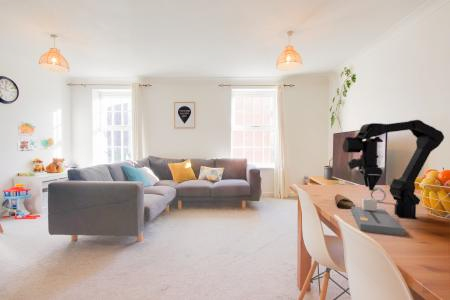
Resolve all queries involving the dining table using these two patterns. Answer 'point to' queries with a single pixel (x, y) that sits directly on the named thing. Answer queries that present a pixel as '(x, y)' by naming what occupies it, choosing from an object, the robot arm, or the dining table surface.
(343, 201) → the sunglasses case
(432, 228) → the dining table surface
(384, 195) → the ring
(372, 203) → the fader knob
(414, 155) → the robot arm
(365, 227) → the fader console
